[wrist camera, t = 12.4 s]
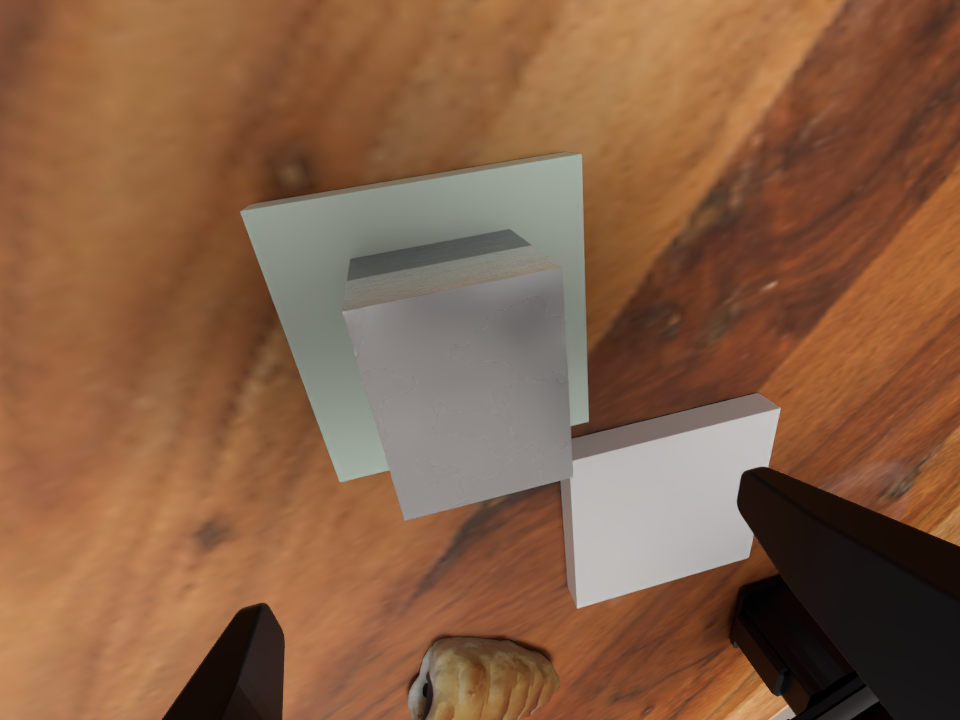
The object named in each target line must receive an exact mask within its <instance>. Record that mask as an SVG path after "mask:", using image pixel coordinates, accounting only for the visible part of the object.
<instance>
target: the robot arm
mask: <svg viewBox="0 0 960 720" xmlns="http://www.w3.org/2000/svg"><path fill="white" fill-rule="evenodd" d="M737 507H738V510H739V512H740V514H741V516H742V517H743V519H744V520H745V522H746V523H747V525H748V526H749V528H750V529H751V531H752V532H753V534H754V535H755V537H756V538H757V540H758V541H759V543H760V544H761V546H762V548H763V549H764V551H765V552H766V554H767V555H768V557H769V558H770V560H771V561H772V563H773V564H774V566H775V567H776V569H777V570H778V572H779V573H780V575H781V577H778V578H775V579H771V580H768V581H765V582H761V583H758V584H755V585H752V586H748V587H746V588H744V589H742V591H741V592H740V595H739V599H738V604H737V609H736V614H735V618H734V623H733V628H732V633H731V637H730V642H731V643H732V645H733V646H734V647H735V648H738V647H740V649H741V650H742V652H743V653H744V655H745V656H746V657H747V659H748V660H749V662H750V663H751V664H752V666H753V667H754V669H755V670H756V671H757V673H758V674H759V676H760V677H761V678H762V680H763V681H764V683H765V684H766V686H767V687H768V688H769V690H770V691H771V693H772V694H774V695H776V696H780V695H782V697H783V698H784V700H785V701H786V702H787V704H788V705H789V707H790V708H791V709H792V711H793V712H794V713H795V715H796V716H795V717H794V718H792V719H791V720H960V546H957V545H955V544H952V543H950V542H947V541H945V540H943V539H940V538H938V537H935V536H933V535H930V534H928V533H926V532H923V531H921V530H918V529H916V528H914V527H911V526H909V525H906V524H904V523H901V522H899V521H897V520H894V519H892V518H889V517H887V516H884V515H882V514H880V513H877V512H875V511H872V510H870V509H868V508H865V507H863V506H860V505H858V504H855V503H853V502H851V501H848V500H846V499H843V498H841V497H838V496H836V495H834V494H831V493H829V492H826V491H824V490H821V489H819V488H817V487H814V486H812V485H809V484H807V483H805V482H802V481H800V480H797V479H795V478H792V477H790V476H788V475H785V474H783V473H780V472H778V471H775V470H773V469H771V468H768V467H757V468H753V469H750V470H746V471H744V472H743V473H742V475H741V479H740V485H739V490H738V496H737ZM284 648H285V642H284V634H283V631H282V628H281V627H280V625H279V623H278V621H277V619H276V618H275V616H274V614H273V612H272V611H271V609H270V607H269V606H268V605H267V604H266V603H259V604H255V605H252V606H248V607H245V608H242V609H241V610H239V611H238V612H237V613H236V615H235V616H234V617H233V619H232V620H231V622H230V623H229V624H228V626H227V627H226V629H225V630H224V632H223V633H222V634H221V636H220V637H219V639H218V640H217V641H216V643H215V644H214V646H213V647H212V649H211V650H210V651H209V653H208V654H207V656H206V657H205V659H204V660H203V661H202V663H201V664H200V666H199V667H198V669H197V670H196V671H195V673H194V674H193V676H192V677H191V678H190V680H189V681H188V683H187V684H186V686H185V687H184V688H183V690H182V691H181V693H180V694H179V696H178V697H177V698H176V700H175V701H174V703H173V704H172V706H171V707H170V708H169V710H168V711H167V713H166V714H165V716H164V717H163V718H162V720H282V709H283V679H284ZM787 720H790V719H787Z"/></svg>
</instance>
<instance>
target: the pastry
mask: <svg viewBox="0 0 960 720" xmlns="http://www.w3.org/2000/svg"><path fill="white" fill-rule="evenodd" d="M559 688H560V680H559V677H558V675H557V673H556V671H555V669H554V667H553V665H552V664H551V662H550V661H548V660H547V659H546V658H545V657H544V656H543V655H541V654H540V653H538V652H535V651H529V650H526V649H525V648H523V647H521V646H518V645H516V644H515V643H514V642H512V641H510V640H502V641H498V640H493V639H481V638H471V637H453V638H445V639H441V640H438V641H436V642H435V643H434V645H433V646H432V647H431V648H429V649H428V651H427V652H426V654H425V656H424V657H423V661H422V665H421V668H420V675H419V677H418V678H417V679H416V681H415V682H414V683H413V685H412V687H411V689H410V691H409V694H408V707H409V711H410V716H411V719H412V720H520V719H521V718H523V717H528V716H530V715H532V714H533V713H536V712H537V711H538V710H540V709H541V707H542V706H543V705H545V704H546V703H547V702H549V701H550V699H551V698H552V696H553V695H554V694H555V693H556V692H557V691H558V689H559Z"/></svg>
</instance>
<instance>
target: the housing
mask: <svg viewBox="0 0 960 720" xmlns="http://www.w3.org/2000/svg"><path fill="white" fill-rule="evenodd" d="M342 313H343V316H344V320H345V323H346V326H347V330H348V333H349V336H350V340H351V343H352V346H353V350H354V353H355V357H356V360H357V363H358V367H359V370H360V373H361V377H362V380H363V383H364V387H365V390H366V393H367V397H368V400H369V403H370V407H371V410H372V413H373V417H374V420H375V423H376V427H377V430H378V434H379V437H380V440H381V444H382V447H383V450H384V454H385V457H386V460H387V464H388V467H389V470H390V474H391V477H392V480H393V484H394V487H395V490H396V494H397V497H398V500H399V504H400V507H401V511H402V514H403V517H404V521H407V520H411V519H414V518H418V517H422V516H426V515H430V514H434V513H438V512H441V511H445V510H449V509H453V508H457V507H461V506H464V505H468V504H472V503H476V502H480V501H484V500H487V499H491V498H495V497H499V496H503V495H507V494H510V493H514V492H518V491H522V490H526V489H530V488H534V487H537V486H541V485H545V484H549V483H553V482H557V481H560V480H564V479H568V478H572V477H573V461H572V442H571V422H570V403H569V384H568V364H567V345H566V325H565V306H564V286H563V267H561V266H560V265H559V264H557V263H556V262H554V261H553V260H552V259H550V258H549V257H548V256H546V255H545V254H543V253H542V252H541V251H539V250H538V249H537V248H535V247H534V246H533V245H531V244H530V243H528V242H527V241H526V240H524V239H523V238H522V237H520V236H519V235H517V234H516V233H515V232H513V231H512V230H511V229H507V230H502V231H497V232H491V233H486V234H481V235H475V236H470V237H465V238H459V239H454V240H449V241H443V242H438V243H433V244H427V245H422V246H417V247H411V248H406V249H401V250H395V251H390V252H385V253H379V254H374V255H369V256H363V257H358V258H353V259H350V264H349V270H348V277H347V283H346V290H345V296H344V303H343V309H342Z"/></svg>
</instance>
